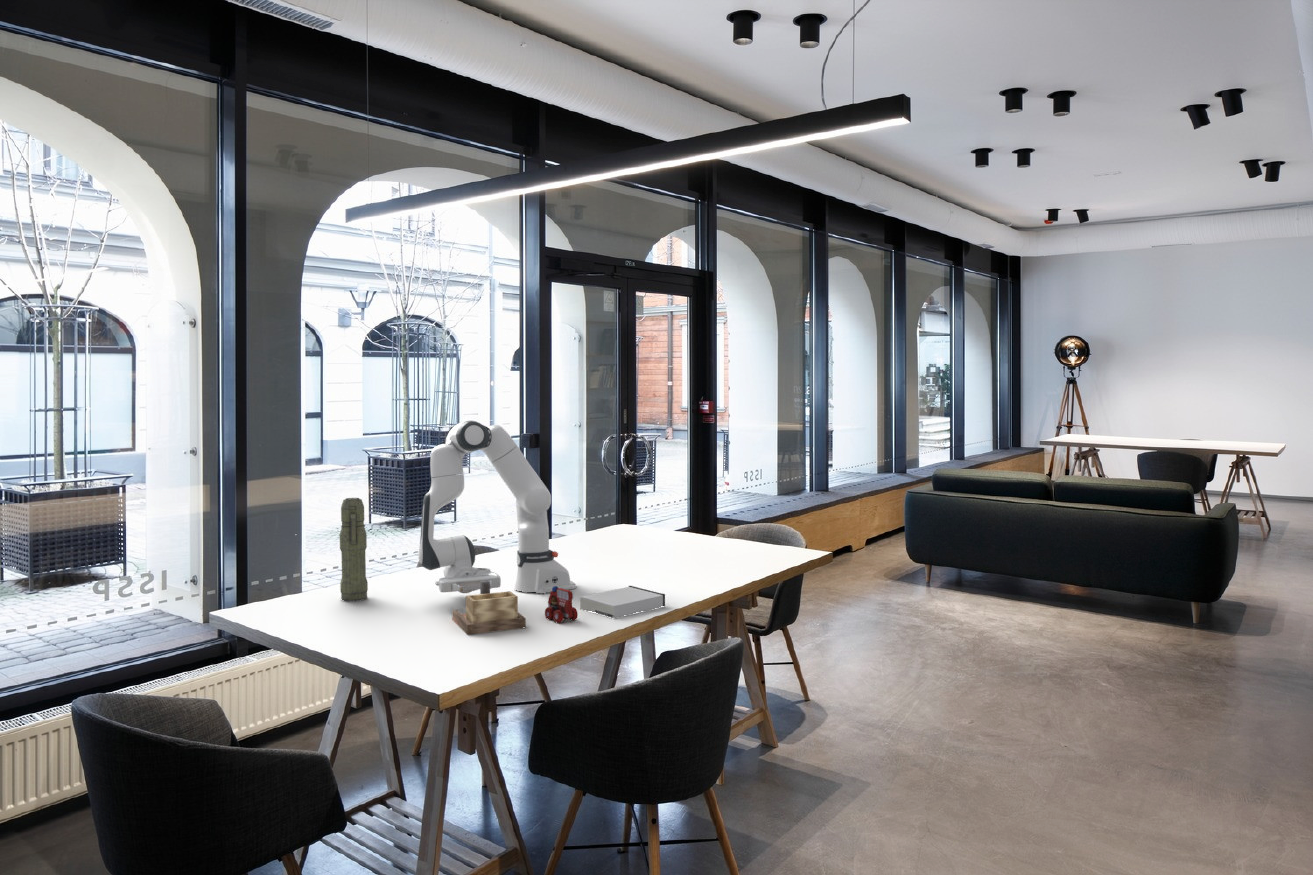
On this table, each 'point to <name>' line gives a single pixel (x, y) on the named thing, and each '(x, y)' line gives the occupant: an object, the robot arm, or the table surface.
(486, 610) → the crate
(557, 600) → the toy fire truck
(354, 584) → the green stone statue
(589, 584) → the table surface
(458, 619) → the tray
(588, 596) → the disc drive
